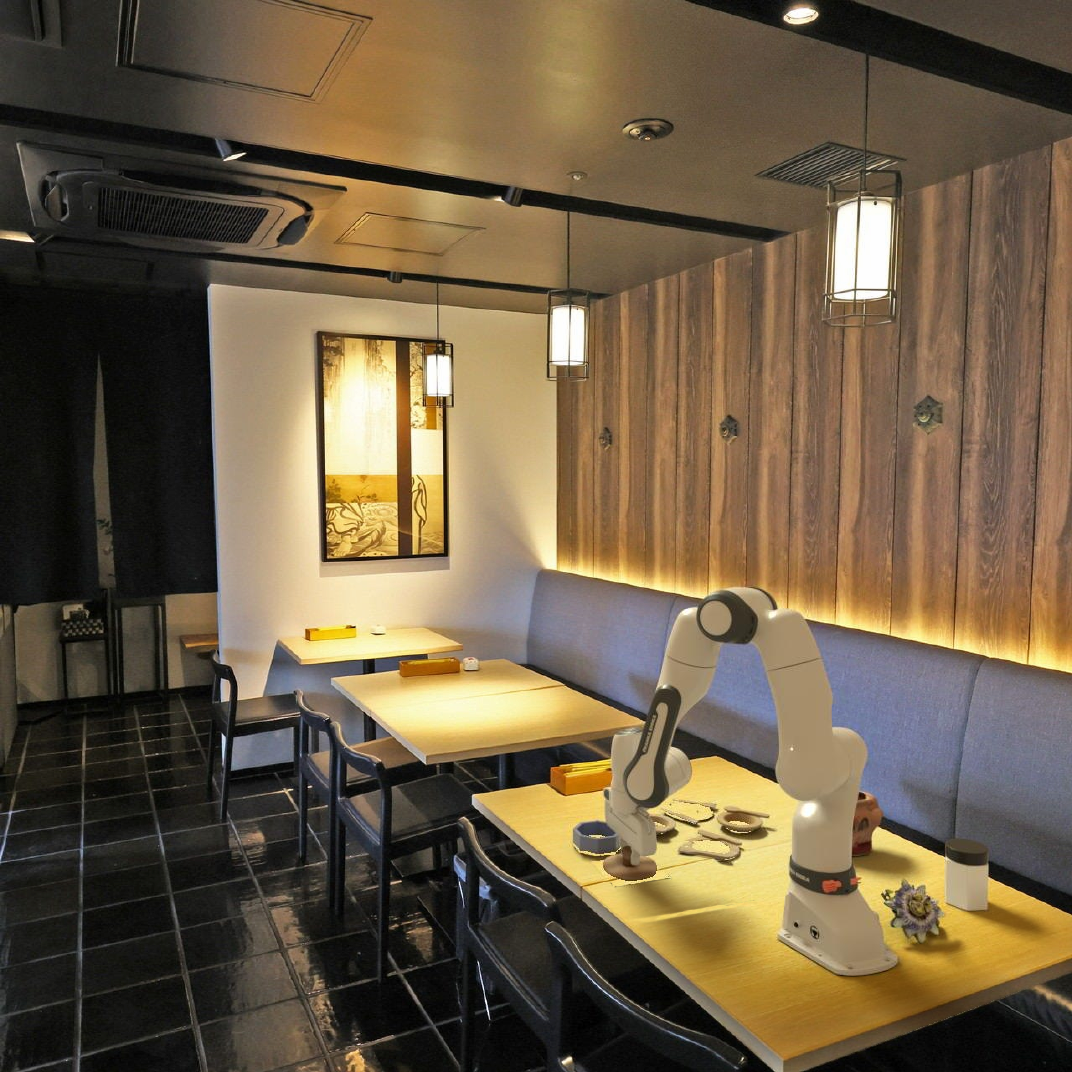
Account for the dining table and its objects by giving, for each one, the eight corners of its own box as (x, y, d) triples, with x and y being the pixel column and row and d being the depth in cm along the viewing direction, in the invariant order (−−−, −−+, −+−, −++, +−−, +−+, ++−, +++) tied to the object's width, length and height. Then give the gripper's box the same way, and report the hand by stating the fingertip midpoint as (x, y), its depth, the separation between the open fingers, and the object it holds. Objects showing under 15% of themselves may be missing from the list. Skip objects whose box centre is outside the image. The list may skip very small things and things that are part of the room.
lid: (666, 876, 189) (666, 855, 189) (616, 884, 185) (616, 862, 185) (641, 855, 200) (642, 835, 200) (594, 862, 196) (594, 841, 196)
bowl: (628, 855, 202) (628, 835, 202) (584, 862, 198) (584, 841, 198) (609, 838, 212) (609, 818, 212) (568, 844, 209) (568, 823, 208)
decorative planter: (825, 866, 196) (826, 807, 195) (792, 846, 207) (793, 790, 207) (895, 855, 203) (896, 797, 202) (859, 835, 214) (860, 781, 214)
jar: (973, 892, 183) (975, 837, 183) (997, 910, 175) (999, 852, 175) (934, 894, 183) (935, 838, 182) (956, 912, 174) (958, 854, 174)
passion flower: (919, 968, 163) (898, 929, 159) (880, 931, 173) (859, 893, 169) (963, 931, 165) (943, 892, 160) (922, 897, 175) (902, 858, 170)
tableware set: (721, 871, 195) (722, 853, 194) (612, 840, 212) (612, 824, 212) (779, 825, 222) (779, 809, 222) (679, 801, 240) (679, 786, 240)
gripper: (664, 813, 183) (663, 877, 184) (624, 783, 202) (624, 841, 203) (637, 817, 181) (637, 881, 182) (599, 786, 200) (599, 844, 201)
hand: (629, 859), depth 192 cm, fingers closed on lid, 3 cm apart
